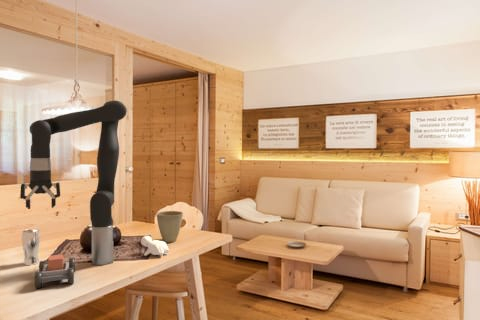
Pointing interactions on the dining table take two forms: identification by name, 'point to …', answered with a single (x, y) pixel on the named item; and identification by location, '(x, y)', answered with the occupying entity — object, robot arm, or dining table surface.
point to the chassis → (55, 273)
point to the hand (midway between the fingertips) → (40, 208)
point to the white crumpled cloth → (154, 246)
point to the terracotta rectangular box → (55, 262)
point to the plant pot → (169, 224)
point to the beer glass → (30, 246)
